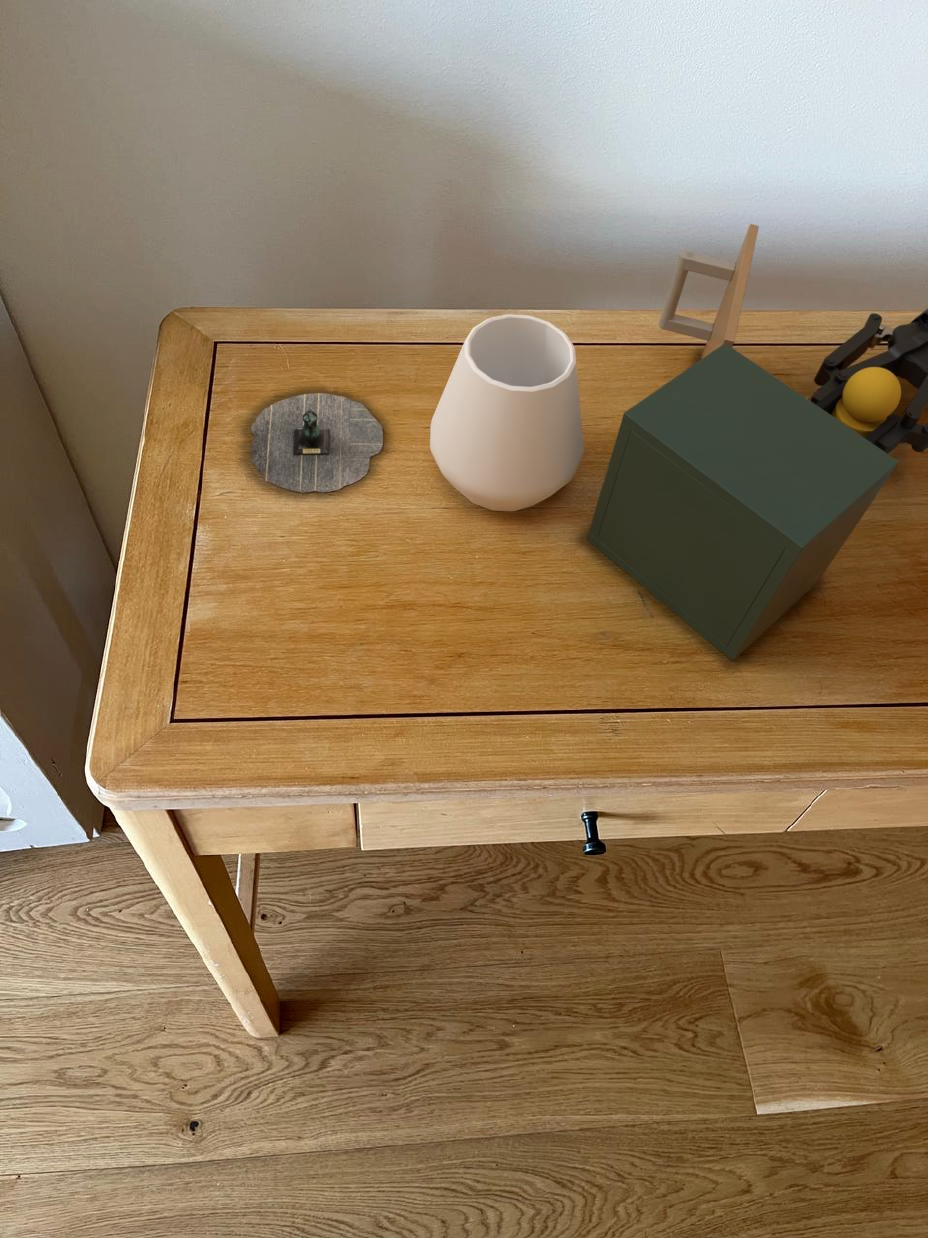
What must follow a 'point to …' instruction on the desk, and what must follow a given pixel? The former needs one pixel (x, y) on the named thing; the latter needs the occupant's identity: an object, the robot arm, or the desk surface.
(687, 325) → the cabinet door
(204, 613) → the desk surface
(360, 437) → the sculpture
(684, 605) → the cabinet
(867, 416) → the toy
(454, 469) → the white tapered cylinder
